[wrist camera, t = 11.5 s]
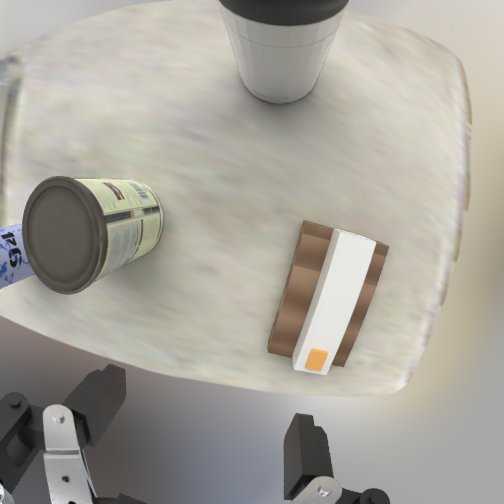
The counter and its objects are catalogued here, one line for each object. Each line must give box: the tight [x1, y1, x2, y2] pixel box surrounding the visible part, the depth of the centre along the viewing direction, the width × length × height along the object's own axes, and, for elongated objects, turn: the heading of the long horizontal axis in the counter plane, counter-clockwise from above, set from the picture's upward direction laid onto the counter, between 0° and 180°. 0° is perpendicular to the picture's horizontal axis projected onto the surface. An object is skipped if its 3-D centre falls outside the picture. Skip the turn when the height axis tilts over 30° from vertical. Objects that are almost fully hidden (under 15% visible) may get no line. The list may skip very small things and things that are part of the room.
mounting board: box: [268, 220, 389, 367], centre depth 33 cm, size 16×10×2 cm, turn 166°
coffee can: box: [22, 176, 163, 294], centre depth 27 cm, size 10×10×14 cm
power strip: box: [292, 228, 376, 375], centre depth 31 cm, size 16×4×6 cm, turn 166°
